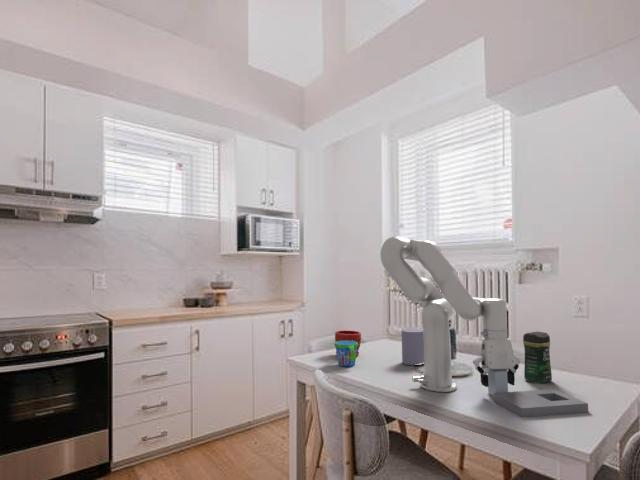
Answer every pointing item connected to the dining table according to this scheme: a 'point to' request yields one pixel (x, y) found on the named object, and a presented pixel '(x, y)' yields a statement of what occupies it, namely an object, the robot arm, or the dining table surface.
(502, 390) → the block
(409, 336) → the container
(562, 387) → the dining table surface
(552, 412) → the grey board with hole
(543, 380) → the coffee jar
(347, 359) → the snack cup
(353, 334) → the plant pot
